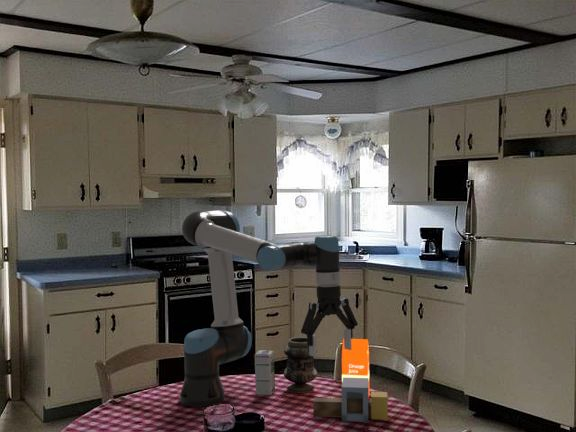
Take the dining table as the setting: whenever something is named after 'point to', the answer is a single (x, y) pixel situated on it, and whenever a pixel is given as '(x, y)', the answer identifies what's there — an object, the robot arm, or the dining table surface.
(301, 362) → the brown ornate vase
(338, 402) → the wooden bar
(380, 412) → the block
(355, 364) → the orange juice
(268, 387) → the syrup box
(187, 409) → the dining table surface
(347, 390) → the grey framed box
